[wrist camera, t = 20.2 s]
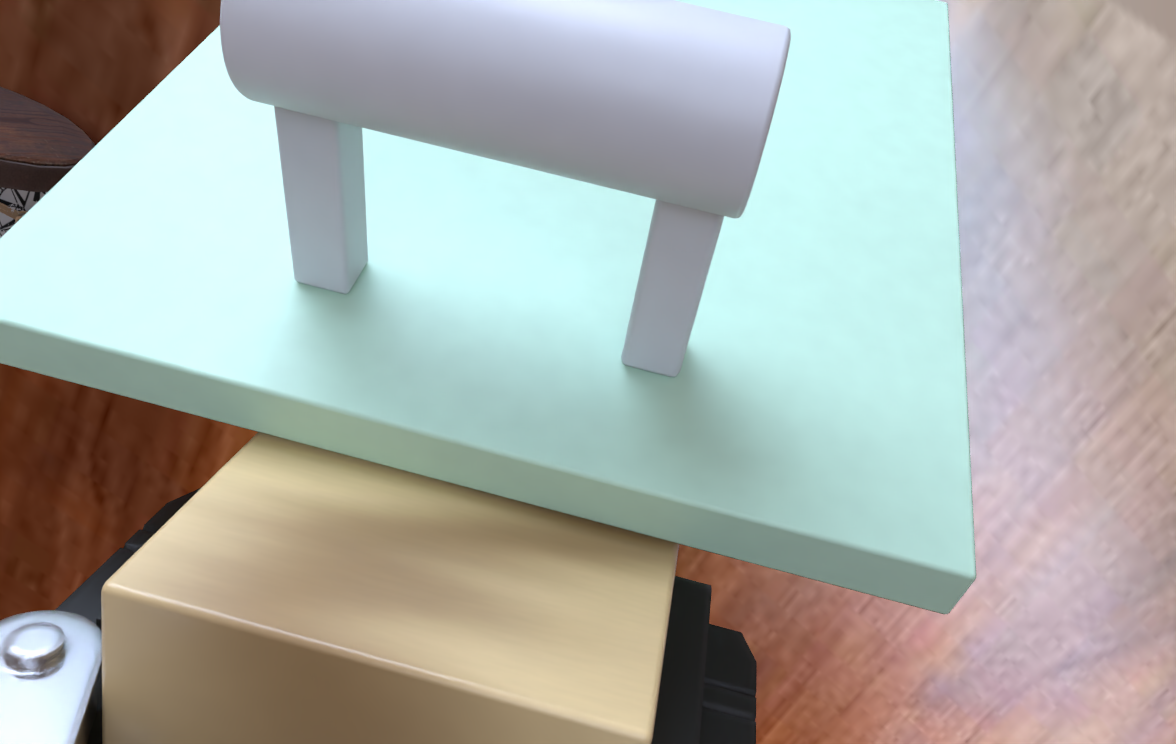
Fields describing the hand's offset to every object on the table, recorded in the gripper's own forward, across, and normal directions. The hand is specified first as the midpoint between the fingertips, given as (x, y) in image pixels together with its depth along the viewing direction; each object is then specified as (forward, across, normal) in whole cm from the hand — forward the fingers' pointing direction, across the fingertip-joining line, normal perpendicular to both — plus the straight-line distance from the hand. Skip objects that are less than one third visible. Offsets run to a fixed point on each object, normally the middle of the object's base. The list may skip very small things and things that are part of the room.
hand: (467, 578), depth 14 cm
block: (0, 0, 0) cm, 0 cm away
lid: (+4, 0, -5) cm, 7 cm away
